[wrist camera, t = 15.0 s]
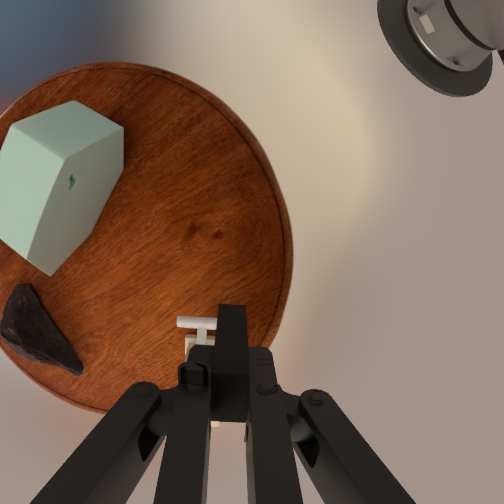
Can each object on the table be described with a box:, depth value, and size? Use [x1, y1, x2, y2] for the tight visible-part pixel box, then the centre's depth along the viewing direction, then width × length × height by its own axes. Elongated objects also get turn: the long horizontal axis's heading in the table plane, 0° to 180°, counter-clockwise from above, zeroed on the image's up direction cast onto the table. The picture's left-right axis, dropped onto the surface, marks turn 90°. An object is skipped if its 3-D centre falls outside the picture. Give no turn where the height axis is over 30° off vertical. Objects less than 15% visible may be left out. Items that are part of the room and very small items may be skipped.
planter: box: [0, 100, 124, 277], centre depth 31 cm, size 17×8×21 cm
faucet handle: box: [177, 315, 217, 345], centre depth 36 cm, size 12×6×2 cm, turn 175°
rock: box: [0, 284, 85, 376], centre depth 40 cm, size 7×18×9 cm, turn 31°
